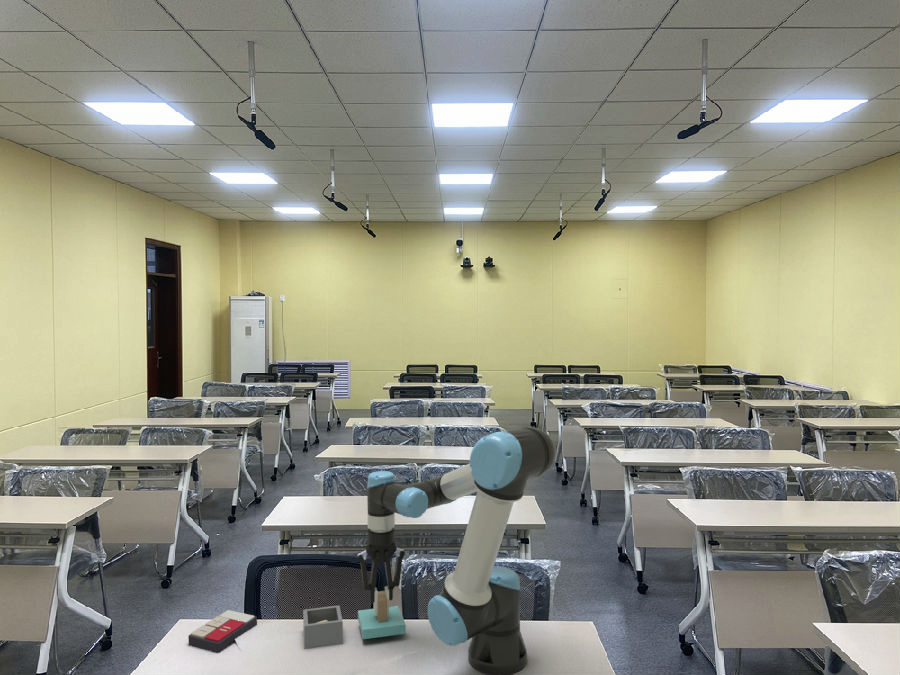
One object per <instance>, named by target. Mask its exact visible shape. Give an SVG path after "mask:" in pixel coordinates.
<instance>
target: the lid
mask: <svg viewBox="0 0 900 675" xmlns="http://www.w3.org/2000/svg"><path fill="white" fill-rule="evenodd" d="M377 606H378V615H375V614H374V608H369V609H368V608H367V609H360V610H358V611H357V621H358V625H359V628H360V633H361V638H362V640H367V639H369V640H370V639H376V638H383V637H390V636H399V635H405V634H406V628H407V624H406V622H405V620H404V617H403V615H402V612H401V610H400V608H399V605H395V606H394V605H393V606H389V614H387V598H386V595H385V590H380V591H378V599H377Z"/></svg>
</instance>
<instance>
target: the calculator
mask: <svg viewBox="0 0 900 675" xmlns="http://www.w3.org/2000/svg"><path fill="white" fill-rule="evenodd" d="M238 620H239V621H238ZM256 626H258V617H257V616H255V615H252V614H249V613H248V614H247V613H243V612H239V611H234V610H231V609H226V611H224V612H222V613H221V614H220V615H217V616H215V617H214V618H212V619H210V620H208V621H207V622H206V623H205V624H203V625H201V626H200V627H198V628H196V629H195V630H194V631H192V632H191V633H190V634H188V639H187V640H188V646H191V647H194V648H195V647H196V648H198V649H202V650H207V651H208V652H209V651H210V652H213V653H216V654H219V653H221V652H222V651H225V650H226V649H228V648H230V647H231V646H232V645H234V644H235V643H237V641H236V639H238V638H239V637H240V636H242V635H244V634H245V633H247V632H248V631H251V629H253V628H255V627H256Z"/></svg>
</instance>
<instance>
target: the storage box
mask: <svg viewBox="0 0 900 675" xmlns="http://www.w3.org/2000/svg"><path fill="white" fill-rule="evenodd" d="M302 612H303V613H302V615H303V616H302V618H303V621H302V622H303V626H302V627H303V628H302V629H303V644H304V646H303V647H304V650H307V649H314V648H315V649H316V648H321V647H322V648H323V647H329V646H330V647H331V646H338V645H343V644H344V639H343V638H344V637H343V636H344V634H343V633H344V632H343V629H344V628H343V626H344V625H343V624H344V623H343V622H344V620H343V617H342V612H341V606H340V605H331V606H323V607H316V608H307V609H302ZM324 620H327V621H328V622H320V621H324ZM317 622H320V623H317Z"/></svg>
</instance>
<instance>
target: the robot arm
mask: <svg viewBox="0 0 900 675" xmlns="http://www.w3.org/2000/svg"><path fill="white" fill-rule="evenodd" d="M556 458H557V449H556V445H555V442H554V440H553V439H552V437H551V436H550V435H549V434H548V433H547V432H546V431H545V430H543V429H541V428H538V427H531V426H528V427H527V426H526V427H522V428H518V429H511V430H507V431H496V432H493V433H490V434H488V435H485V436H483V437H482V438H480V439H479V440H478V441H477V442H476V443H475V444H474V445H473V447H472V449H471V451H470V456H469V463H468V464H465V465H463V466H460V467H457V468H455V469H454V470H451V471H449V472H446V473H444V474H441V475H440V476H437V477H434V478H432V479H431V478H430V479H427V480H423V481H418V482H415V483H410V484H406V485H405V484H400V483H398V482H396V478H395V474H394V473H393V472H391V471H388V470H379V471H378V470H377V471H373V472H371V473H369V474H368V476H367V486H366V490H367V491H366V492H367V545H366V547H365V550H363V551H362V552H360V551H359V552H358V553H357V559H358V560H359V562H360V569H361V577H362V578H361V579H362V587H363V589H364V591H369V601H370V603H371V604H373V609H374V614H375V615H378V606H377V599H378V592H379V591H378V589H377V587H376V584H377V583H376V582H377V576H378V568H379V564H381V563H384V568H385V575H386V584H387V585H386V586H384V592H385V595H386V598H387V614H389V607H390V601H393V599H394V593H393V592H394V588H395V587H400V582H401V572H402V564H403V559H404V557H405V555H406V552H405V550H404V548H402V547H401V548H399V547H397V545H396V542H395V540H396V539H395V536H396V535H395V534H396V533H395V532H396V529H395V525H396V524H395V521H396V520H395V519H396V518H395V516H396V515H395V514H397V515H401V516H403V517H407V518H412V519H417V518H420V517H422V516H423V514H425V513H426V511H427V510H429V509H432V508H435V507H438V506H439V507H440V506H442V505H447V504H451V503H453V502H456V501H458V499H461V498H463V497H466V496H468V495H471V494H475V493H476V495H475V499H474V502H473V506H472V509H471V512H470V516H469V518H468V523H467V527H466V530H465V532H464V533H465V534H464V536H463V540H462V544H461V546H460V550H459V554H458V558H457V559H456V560H457V562H456V564H455V567H454V572H451V573H449V574H447V576H446V577H445V580H444V583H443V586H442V589H441V592H440V593H439V594H437V595H434V596H433V597H432V598H431V599H430V600H429V602H428V604H427V617H428V621H429V624H430V627H431V630H432V631H433V633H434V634H435V636H436V637H437V638H438V639H439V640H440V641H441V642H443V644H445V645H448V646H453V647H454V646H457V645H460V644H464V643H465V642H467V641H469V640H470V642H469V646H468V653H467V654H468V656H467V657H468V658H467V661H468V663H469V664H470V666H472V668H474V669H475V670H477V671H479V672H480V673H484V674H487V675H511V674H514V673H518V672H520V671H522V670H523V669H524V668H525V667H526V665H527V664H528V650H527V647H526V644H525V642H524V638H523V635H522V632H521V586H520V584H521V583H520V577H519V576H520V575H518V573H517V572H516V571H514V570H513V569H510V568H507V567H504V566H498V565H495V564H496V560H497V558H498V554H499V550H500V547H501V543H502V541H503V538H504V534H505V531H506V528H507V525H508V522H509V518H510V515H511V512H512V509H513V505H514V503H515V502H518V501H520V500H521V499H522V498H523V497H524V496H523V495H524V493H525V491H526V490H525V489H526V486H527V483H528V481H529V480H531V479H535V478H537V477H541V476H542V475H545V474H546V473H547V472H549V471H550V470H551V468H552V467H553V466H554V463H555V461H556ZM394 554H395V556H396V559H395V567H394V574H393V575H394V576H393V575H392V567H391V559H392V557H393V555H394ZM367 556H368V557H369V558H370V559H371V570H370V571H371V572H370V578H369V580H368V573H367V571H368V570H367V565H366V564H367V563H366V560H367ZM392 576H393V577H392Z"/></svg>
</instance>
